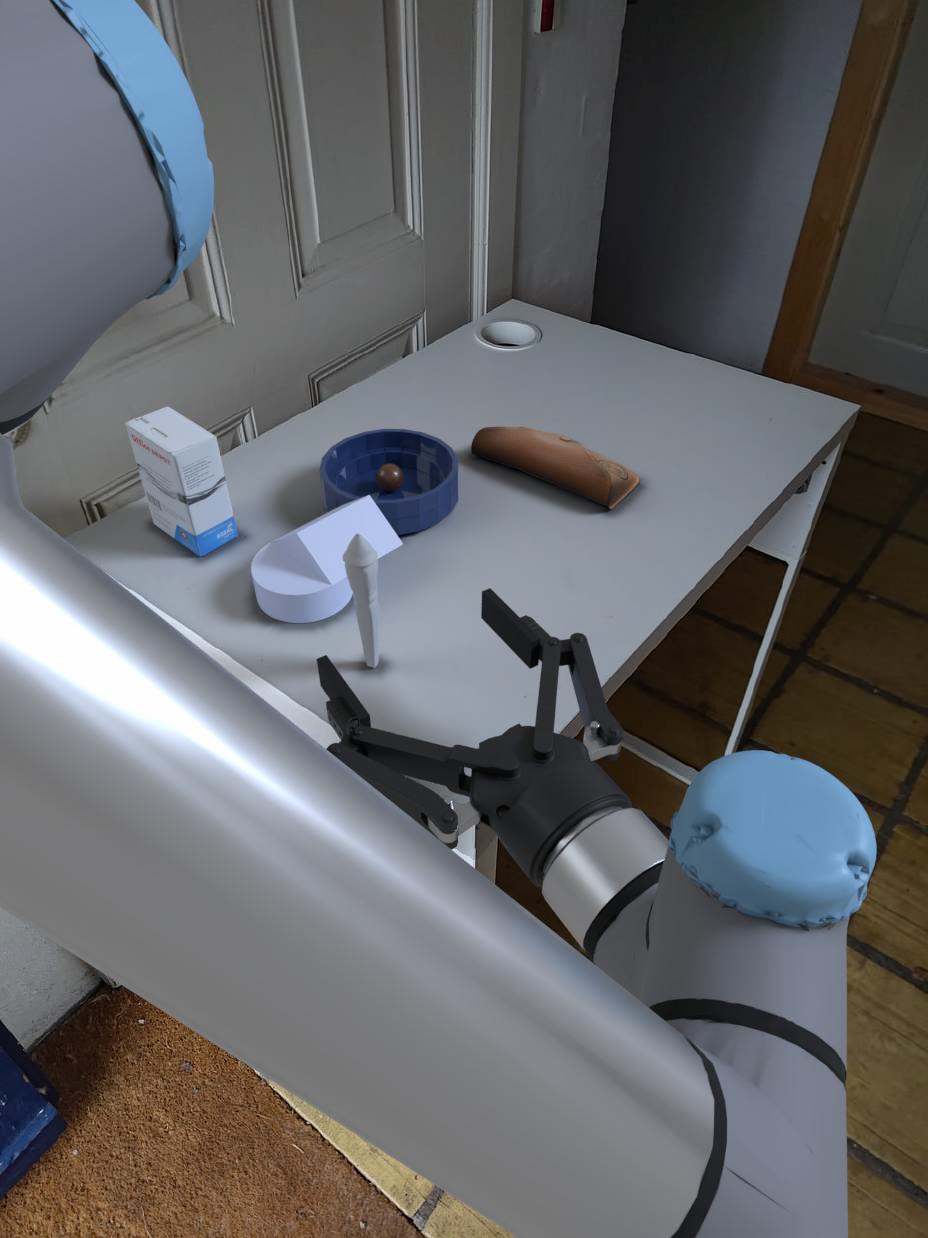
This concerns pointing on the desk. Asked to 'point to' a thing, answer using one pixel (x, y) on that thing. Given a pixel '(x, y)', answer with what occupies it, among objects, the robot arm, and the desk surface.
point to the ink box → (183, 479)
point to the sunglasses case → (557, 462)
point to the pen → (364, 593)
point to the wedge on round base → (317, 562)
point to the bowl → (423, 467)
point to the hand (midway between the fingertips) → (407, 635)
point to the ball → (389, 477)
